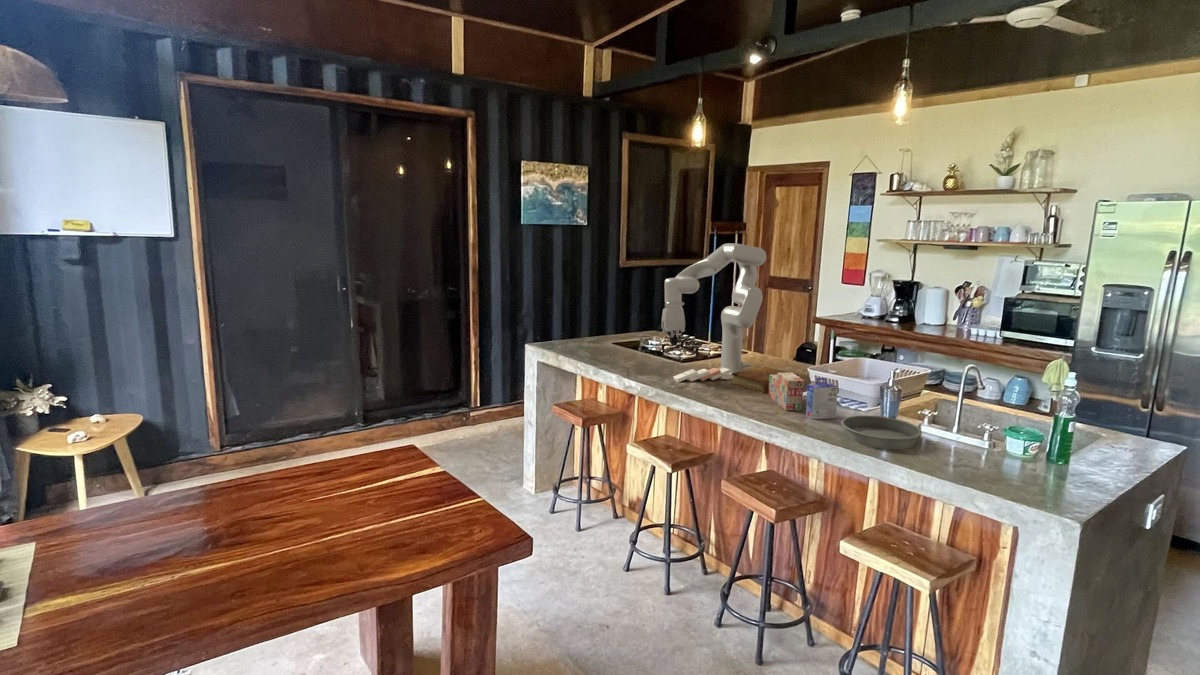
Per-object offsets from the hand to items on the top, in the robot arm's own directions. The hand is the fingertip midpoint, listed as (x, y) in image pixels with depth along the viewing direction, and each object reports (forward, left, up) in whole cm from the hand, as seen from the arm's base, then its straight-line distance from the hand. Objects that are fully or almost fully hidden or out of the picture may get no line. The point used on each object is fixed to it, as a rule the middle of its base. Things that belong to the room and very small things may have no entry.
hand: (673, 345), depth 287 cm
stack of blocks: (-29, +49, -16) cm, 59 cm away
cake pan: (-38, +94, -16) cm, 102 cm away
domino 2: (-15, +7, -14) cm, 22 cm away
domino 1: (-4, +7, -15) cm, 17 cm away
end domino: (-21, +6, -15) cm, 26 cm away
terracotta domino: (-10, +7, -14) cm, 19 cm away
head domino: (+1, +7, -15) cm, 16 cm away
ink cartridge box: (-32, +69, -16) cm, 77 cm away
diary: (-35, +22, -16) cm, 44 cm away
